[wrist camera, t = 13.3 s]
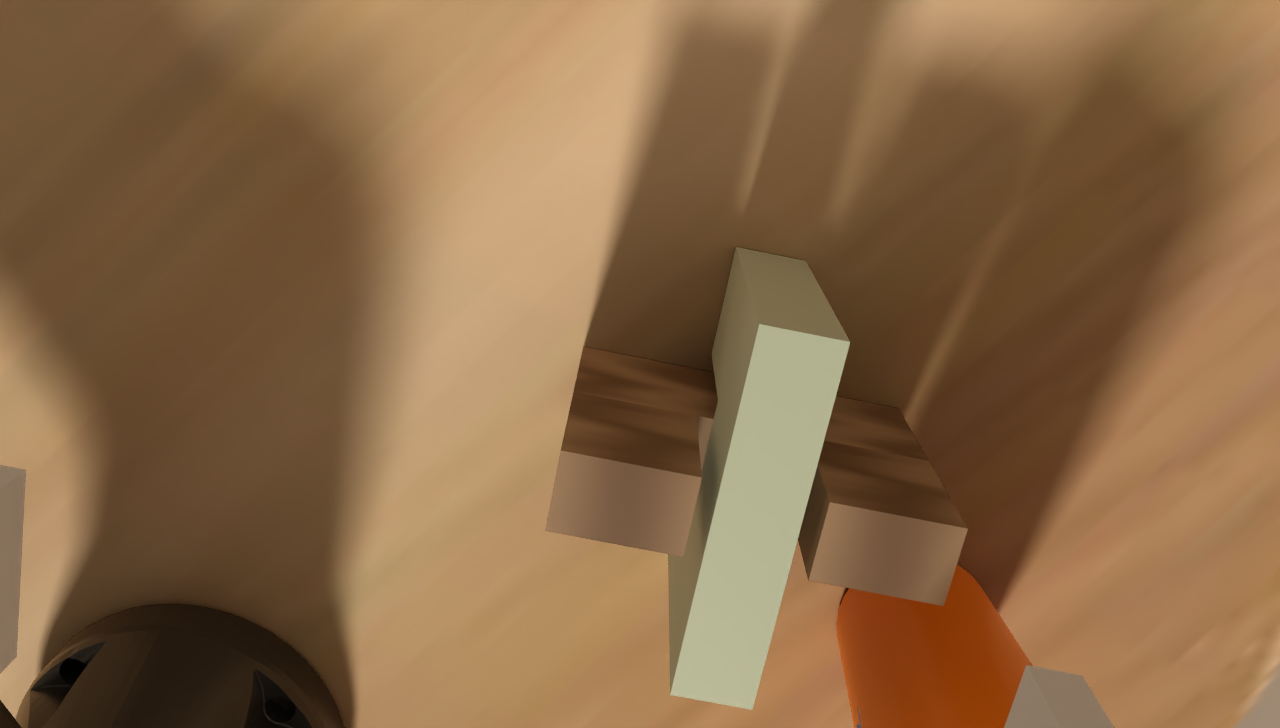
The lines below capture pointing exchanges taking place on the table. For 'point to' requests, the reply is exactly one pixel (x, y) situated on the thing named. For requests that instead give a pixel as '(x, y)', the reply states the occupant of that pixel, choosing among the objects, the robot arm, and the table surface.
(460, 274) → the table surface
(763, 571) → the slot plate
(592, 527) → the brown wooden slotted board
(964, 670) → the shaker bottle
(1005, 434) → the table surface
